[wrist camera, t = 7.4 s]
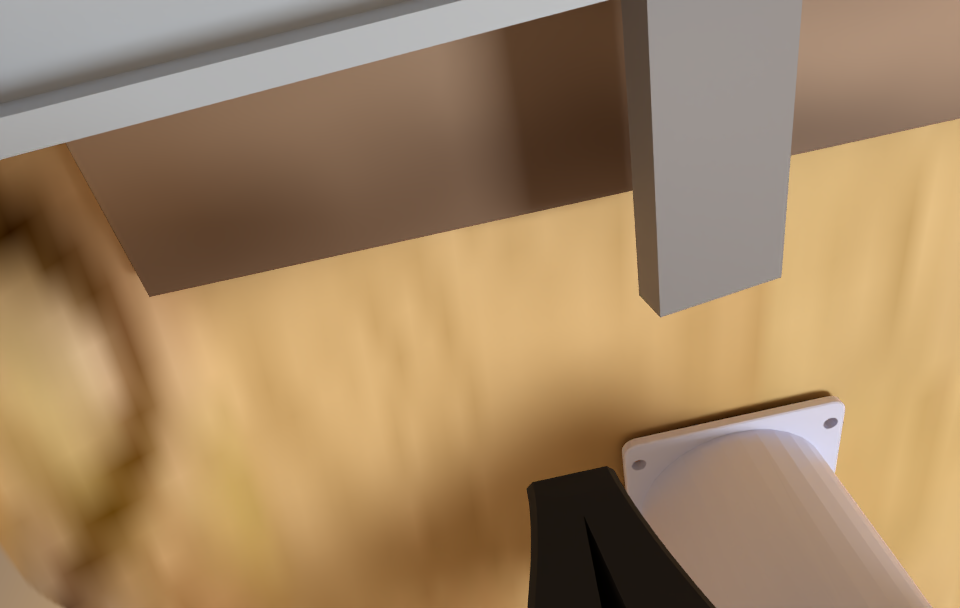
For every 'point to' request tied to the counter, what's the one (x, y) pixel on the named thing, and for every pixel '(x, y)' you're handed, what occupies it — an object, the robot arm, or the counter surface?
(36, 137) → the lever
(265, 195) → the base
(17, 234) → the counter surface
